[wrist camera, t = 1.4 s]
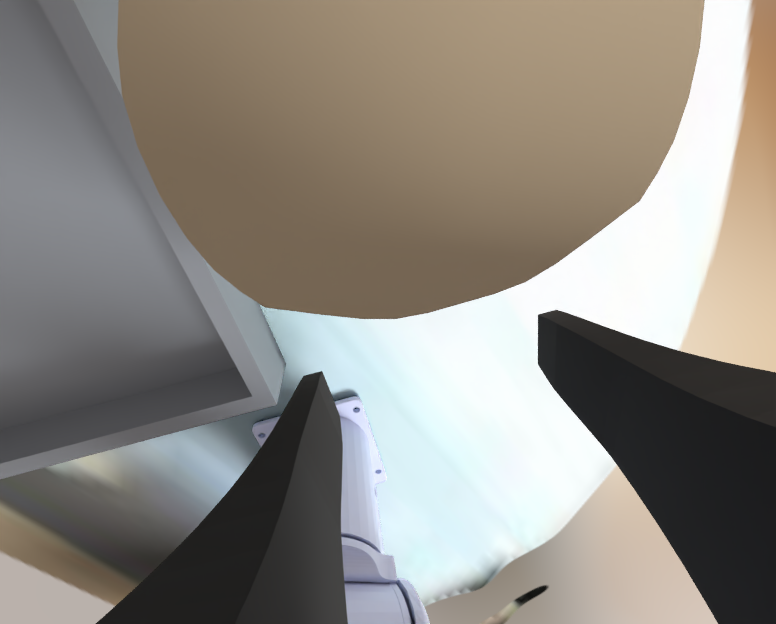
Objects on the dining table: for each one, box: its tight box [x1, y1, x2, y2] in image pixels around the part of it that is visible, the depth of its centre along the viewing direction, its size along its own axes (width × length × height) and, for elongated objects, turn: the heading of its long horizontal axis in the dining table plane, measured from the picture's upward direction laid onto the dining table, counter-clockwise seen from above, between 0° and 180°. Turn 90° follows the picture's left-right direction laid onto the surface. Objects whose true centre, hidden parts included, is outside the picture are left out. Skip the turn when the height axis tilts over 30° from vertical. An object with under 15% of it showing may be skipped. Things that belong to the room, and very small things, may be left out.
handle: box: [117, 0, 704, 319], centre depth 10 cm, size 5×6×15 cm
